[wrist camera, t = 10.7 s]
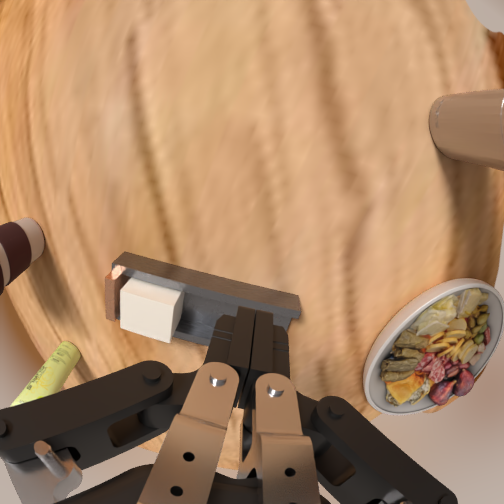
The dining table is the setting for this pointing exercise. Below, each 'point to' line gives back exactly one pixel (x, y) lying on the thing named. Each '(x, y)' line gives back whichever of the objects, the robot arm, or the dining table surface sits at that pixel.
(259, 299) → the chute
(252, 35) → the dining table surface
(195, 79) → the dining table surface
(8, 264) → the coffee cup
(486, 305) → the bowl
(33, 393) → the tube
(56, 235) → the dining table surface
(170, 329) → the block
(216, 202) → the dining table surface
